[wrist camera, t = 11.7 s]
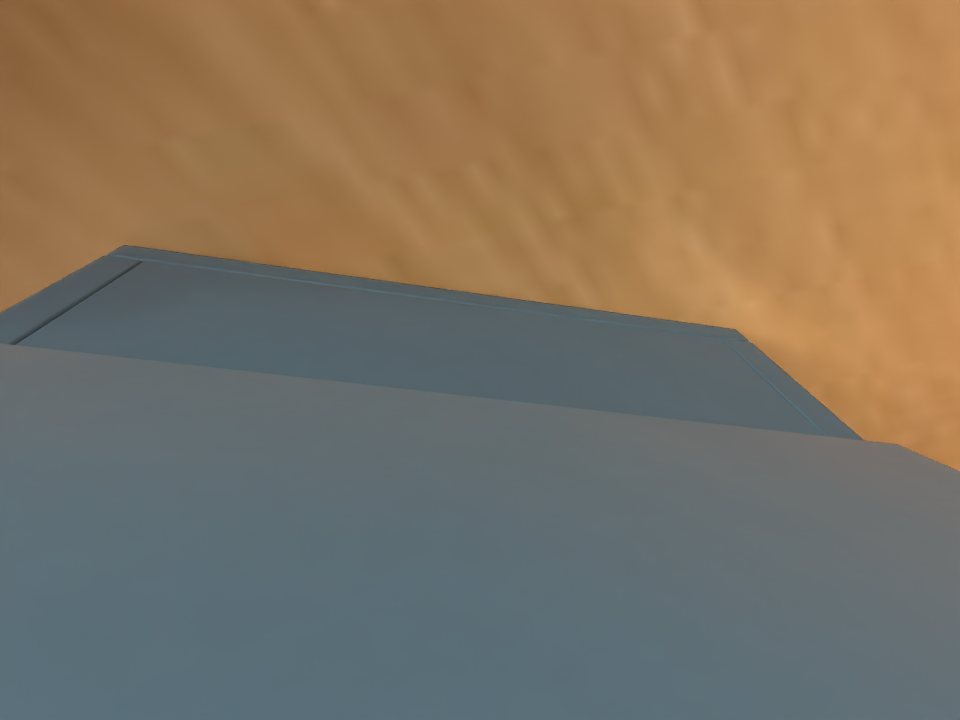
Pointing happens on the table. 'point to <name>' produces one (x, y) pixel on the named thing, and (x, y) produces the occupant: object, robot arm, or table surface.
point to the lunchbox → (411, 340)
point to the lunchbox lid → (452, 557)
